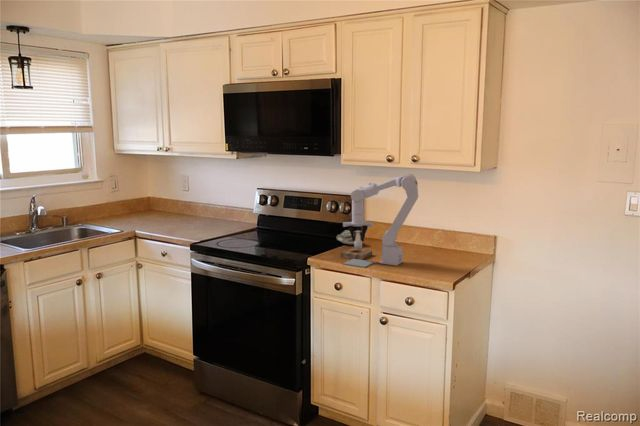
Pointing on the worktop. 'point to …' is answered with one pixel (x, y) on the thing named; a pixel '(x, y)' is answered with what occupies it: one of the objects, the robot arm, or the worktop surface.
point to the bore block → (356, 253)
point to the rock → (345, 238)
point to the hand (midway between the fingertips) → (358, 240)
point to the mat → (359, 263)
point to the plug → (357, 239)
